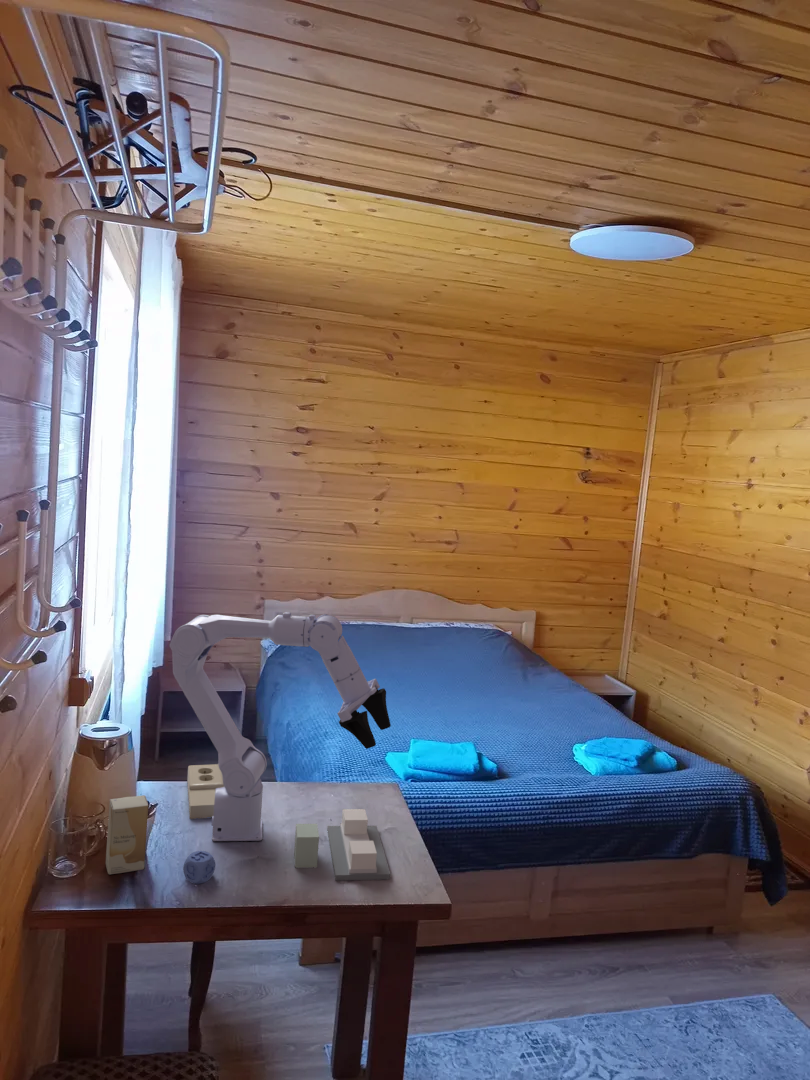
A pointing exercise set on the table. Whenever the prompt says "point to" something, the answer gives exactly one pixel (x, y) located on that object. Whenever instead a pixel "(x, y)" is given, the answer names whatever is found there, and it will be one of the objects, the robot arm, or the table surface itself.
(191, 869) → the decorative dice
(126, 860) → the skincare box
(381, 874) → the rail board
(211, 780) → the electrical outlet
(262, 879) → the table surface
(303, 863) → the block
